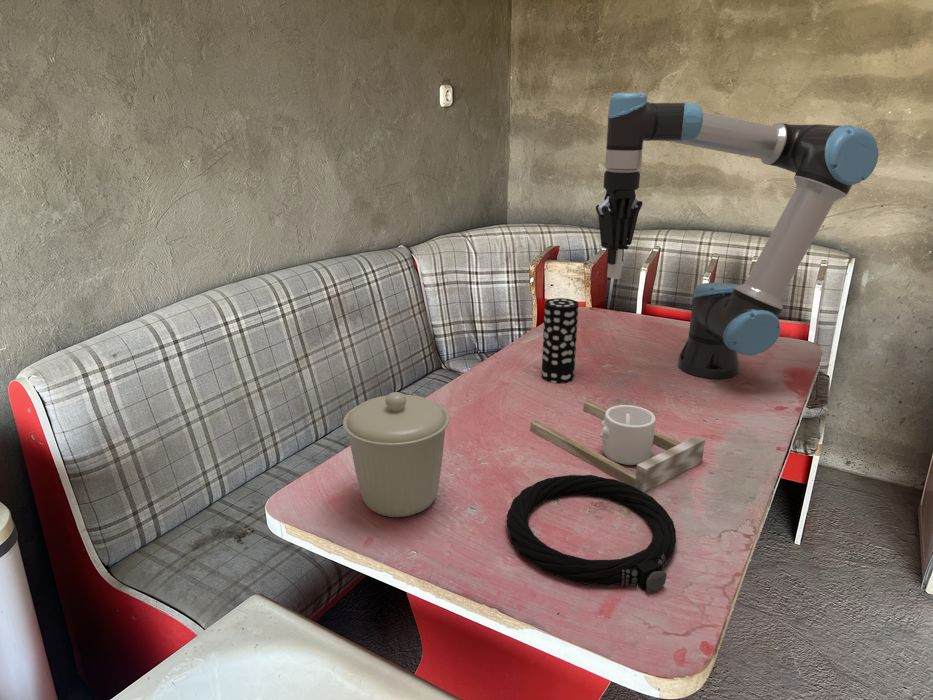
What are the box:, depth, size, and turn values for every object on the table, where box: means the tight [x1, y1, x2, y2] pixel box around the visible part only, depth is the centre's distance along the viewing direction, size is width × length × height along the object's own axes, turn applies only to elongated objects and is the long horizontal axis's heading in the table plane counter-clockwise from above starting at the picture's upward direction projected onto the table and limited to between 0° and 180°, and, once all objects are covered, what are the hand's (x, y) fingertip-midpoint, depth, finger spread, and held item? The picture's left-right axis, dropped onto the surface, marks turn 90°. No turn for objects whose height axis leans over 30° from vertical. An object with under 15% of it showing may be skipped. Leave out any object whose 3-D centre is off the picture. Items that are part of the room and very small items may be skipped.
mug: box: [599, 404, 656, 466], centre depth 132 cm, size 12×10×9 cm
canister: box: [342, 391, 451, 518], centre depth 114 cm, size 18×18×21 cm
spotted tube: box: [541, 297, 579, 384], centre depth 166 cm, size 8×8×20 cm
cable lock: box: [506, 474, 677, 594], centre depth 108 cm, size 28×4×30 cm
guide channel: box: [530, 400, 706, 493], centre depth 135 cm, size 18×30×5 cm, turn 37°
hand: (613, 277), depth 149 cm, fingers closed
